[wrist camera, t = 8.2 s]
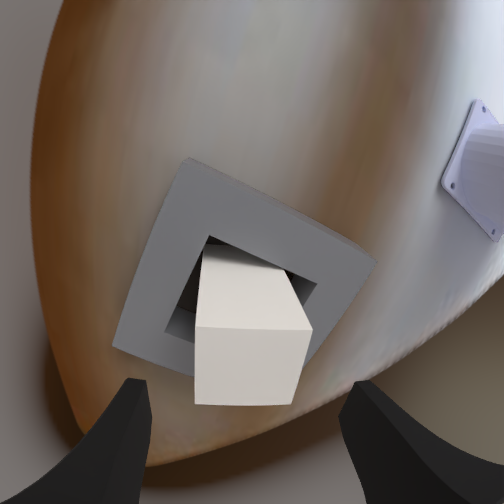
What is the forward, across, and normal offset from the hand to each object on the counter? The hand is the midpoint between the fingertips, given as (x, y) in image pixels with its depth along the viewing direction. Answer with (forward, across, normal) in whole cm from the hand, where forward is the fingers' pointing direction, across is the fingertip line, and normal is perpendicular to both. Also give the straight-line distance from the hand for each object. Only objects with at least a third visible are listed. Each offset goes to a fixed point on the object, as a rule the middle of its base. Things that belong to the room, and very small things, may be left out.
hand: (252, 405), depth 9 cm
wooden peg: (+9, 0, 0) cm, 9 cm away
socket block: (+9, 0, 0) cm, 9 cm away
